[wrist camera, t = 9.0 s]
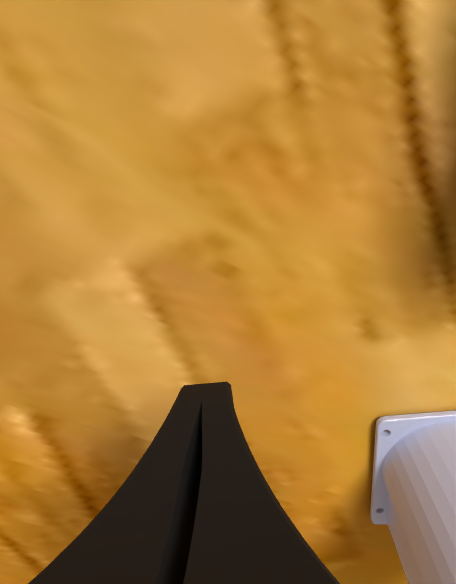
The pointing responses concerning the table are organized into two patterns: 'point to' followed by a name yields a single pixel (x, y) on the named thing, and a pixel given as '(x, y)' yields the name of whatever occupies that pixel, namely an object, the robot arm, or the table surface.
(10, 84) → the table surface
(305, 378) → the table surface
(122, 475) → the table surface
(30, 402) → the table surface
